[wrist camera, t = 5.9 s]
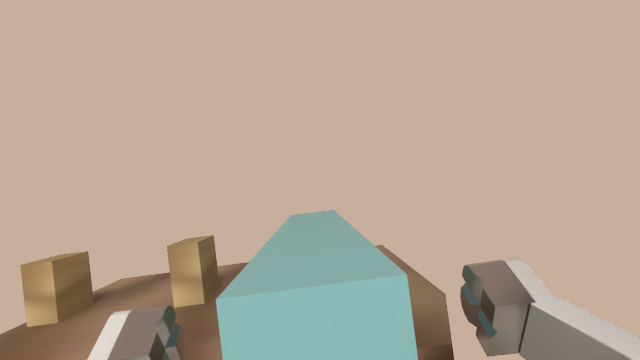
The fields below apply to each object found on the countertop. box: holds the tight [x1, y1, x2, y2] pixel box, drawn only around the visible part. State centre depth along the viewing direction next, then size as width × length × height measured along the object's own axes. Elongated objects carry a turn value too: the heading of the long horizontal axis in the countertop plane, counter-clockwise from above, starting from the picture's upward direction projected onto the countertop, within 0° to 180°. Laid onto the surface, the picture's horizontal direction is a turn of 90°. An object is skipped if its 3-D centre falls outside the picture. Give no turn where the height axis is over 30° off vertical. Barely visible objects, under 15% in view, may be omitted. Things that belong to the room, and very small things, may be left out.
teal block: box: [216, 210, 418, 360], centre depth 17 cm, size 3×22×3 cm, turn 1°
